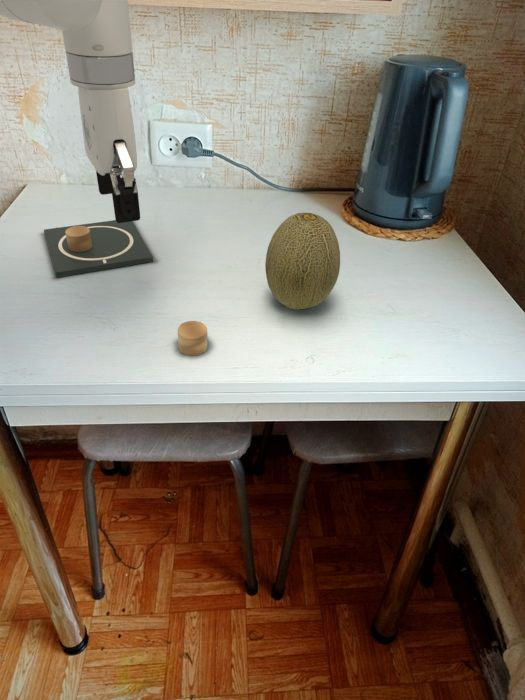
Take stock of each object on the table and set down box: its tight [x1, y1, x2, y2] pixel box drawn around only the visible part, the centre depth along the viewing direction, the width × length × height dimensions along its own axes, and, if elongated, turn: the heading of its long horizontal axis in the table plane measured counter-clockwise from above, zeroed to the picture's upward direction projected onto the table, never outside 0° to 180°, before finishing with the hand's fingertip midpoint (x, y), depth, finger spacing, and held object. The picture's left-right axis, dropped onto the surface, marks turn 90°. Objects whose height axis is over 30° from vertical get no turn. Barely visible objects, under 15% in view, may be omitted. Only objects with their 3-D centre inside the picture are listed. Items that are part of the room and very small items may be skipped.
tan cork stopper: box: [177, 320, 208, 356], centre depth 70 cm, size 4×4×3 cm
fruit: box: [264, 212, 341, 310], centre depth 76 cm, size 11×11×15 cm
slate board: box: [43, 219, 154, 278], centre depth 91 cm, size 16×16×1 cm
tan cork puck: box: [65, 225, 92, 252], centre depth 88 cm, size 4×4×3 cm
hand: (119, 206), depth 71 cm, fingers open, 9 cm apart
